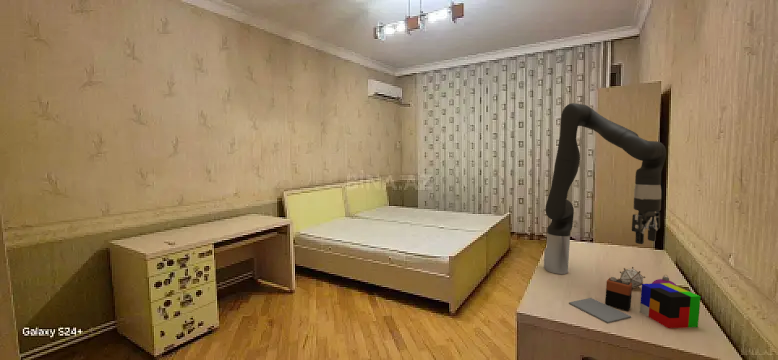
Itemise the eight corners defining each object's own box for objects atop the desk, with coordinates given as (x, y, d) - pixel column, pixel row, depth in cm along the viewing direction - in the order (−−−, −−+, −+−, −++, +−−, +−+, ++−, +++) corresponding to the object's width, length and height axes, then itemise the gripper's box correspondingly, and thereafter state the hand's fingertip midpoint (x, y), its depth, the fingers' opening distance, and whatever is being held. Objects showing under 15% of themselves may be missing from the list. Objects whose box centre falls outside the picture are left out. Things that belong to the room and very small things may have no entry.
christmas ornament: (644, 298, 116) (646, 272, 116) (657, 294, 120) (659, 269, 119) (671, 308, 109) (673, 280, 108) (684, 304, 112) (686, 277, 111)
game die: (636, 298, 125) (655, 285, 118) (614, 289, 126) (631, 275, 120) (631, 280, 132) (648, 267, 125) (610, 272, 133) (626, 258, 127)
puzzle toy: (639, 312, 106) (641, 283, 105) (666, 311, 107) (669, 283, 106) (668, 328, 96) (670, 297, 96) (697, 327, 97) (700, 296, 96)
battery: (628, 312, 106) (630, 283, 105) (604, 305, 111) (606, 277, 110) (630, 307, 109) (632, 280, 108) (607, 301, 114) (609, 274, 113)
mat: (568, 303, 112) (568, 302, 112) (590, 299, 116) (590, 297, 116) (607, 323, 99) (607, 321, 99) (631, 317, 103) (631, 316, 102)
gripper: (645, 195, 118) (643, 237, 119) (624, 197, 111) (623, 242, 112) (670, 197, 111) (668, 242, 112) (649, 199, 105) (648, 247, 105)
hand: (645, 242), depth 112 cm, fingers open, 8 cm apart
